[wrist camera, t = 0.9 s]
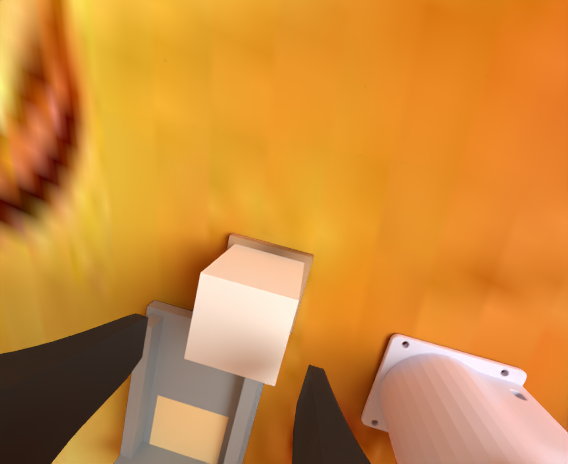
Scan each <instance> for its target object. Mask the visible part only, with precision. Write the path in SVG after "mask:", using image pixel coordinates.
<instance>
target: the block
mask: <svg viewBox="0 0 568 464" xmlns="http://www.w3.org/2000/svg"><path fill="white" fill-rule="evenodd" d="M303 269H304V263H303V262H300V261H296V260H293V259H289V258H285V257H282V256H278V255H274V254H271V253H267V252H263V251H260V250H256V249H253V248H249V247H245V246H242V245H238V244H234V245H233V246H232V247H231V248H229V249H228V250H227V251H226V252H225V253H223V254H222V255H221V256H220V257H219V258H217V259H216V260H215V261H214V262H213V263H212V264H210V265H209V266H208V267H207V268H206V269H204V270H203V271H202V272H201V274H200V279H199V284H198V289H197V294H196V299H195V305H194V310H193V315H192V320H191V325H190V331H189V336H188V341H187V346H186V351H185V356H184V359H187V360H190V361H193V362H196V363H200V364H203V365H206V366H210V367H213V368H216V369H219V370H223V371H226V372H229V373H233V374H236V375H239V376H242V377H246V378H249V379H252V380H256V381H259V382H262V383H265V384H269V385H272V386H275V383H276V380H277V376H278V373H279V369H280V366H281V362H282V359H283V355H284V352H285V348H286V345H287V341H288V338H289V334H290V331H291V327H292V324H293V320H294V316H295V313H296V309H297V306H298V302H299V297H300V290H301V283H302V276H303Z"/></svg>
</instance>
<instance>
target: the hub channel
mask: <svg viewBox="0 0 568 464" xmlns="http://www.w3.org/2000/svg"><path fill="white" fill-rule="evenodd" d="M192 315H193V311H190V310H186V309H183V308H180V307H176V306H173V305H169V304H166V303H163V302H159V301H156V300H154V301H153V302H152V303H150V304H149V305H148V306H147V311H146V317H148V324H147V330H146V337H145V343H144V350H143V356H142V359H141V360H140V361H139V363H138V364H137V366H136V367H135V368H134V370H133V371H132V376H131V382H130V389H129V396H128V403H127V410H126V416H125V423H124V430H123V437H122V443H121V450H120V455H119V457H118V458H117V460H116V461H115V462H114V464H242V462H243V459H244V455H245V451H246V448H247V444H248V440H249V437H250V433H251V429H252V426H253V422H254V418H255V415H256V411H257V407H258V404H259V400H260V396H261V393H262V389H263V385H264V383H262V382H259V381H256V380H252V379H249V378H246V377H242V376H239V375H236V374H233V373H229V372H226V371H223V370H219V369H216V368H213V367H210V366H206V365H203V364H200V363H196V362H193V361H190V360H187V359H184V356H185V351H186V346H187V341H188V336H189V331H190V325H191V320H192Z"/></svg>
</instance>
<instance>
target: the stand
mask: <svg viewBox="0 0 568 464" xmlns="http://www.w3.org/2000/svg"><path fill="white" fill-rule="evenodd" d="M234 244H238V245H242V246H245V247H249V248H253V249H256V250H260V251H263V252H267V253H271V254H274V255H278V256H282V257H285V258H289V259H293V260H296V261H300V262H303V263H304V269H303V276H302V283H301V290H300V297H299V302H298V306H297V309H296V313H295V316H294V320H293V324H292V327H291V331H290V334H292V331H293V328H294V324H295V320H296V317H297V313H298V310H299V306H300V303H301V299H302V296H303V292H304V289H305V285H306V282H307V278H308V275H309V271H310V268H311V264H312V261H313V254H309V253H305V252H302V251H298V250H294V249H291V248H287V247H283V246H280V245H276V244H272V243H269V242H265V241H261V240H258V239H254V238H250V237H247V236H243V235H239V234H236V233H232V234H231V235H230V236H229V241H228V246H227V250H228V249H229V248H231V247H232V246H233V245H234ZM227 250H226V251H227Z"/></svg>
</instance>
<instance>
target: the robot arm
mask: <svg viewBox="0 0 568 464" xmlns="http://www.w3.org/2000/svg"><path fill="white" fill-rule="evenodd" d="M147 324H148V317H146V316H142V315H139V314H132V315H129V316H126V317H123V318H120V319H118V320H115V321H112V322H109V323H107V324H104V325H101V326H98V327H95V328H93V329H90V330H87V331H84V332H81V333H78V334H75V335H72V336H69V337H66V338H62V339H59V340H56V341H53V342H49V343H46V344H42V345H38V346H34V347H30V348H26V349H22V350H18V351H14V352H8V353H3V354H0V464H51V463H52V462H53V460H54V459H55V458H56V457H57V455H58V454H59V453H60V452H61V450H62V449H63V448H64V447H65V445H66V444H67V443H68V442H69V440H70V439H71V438H72V437H73V436H74V435H75V434H76V432H77V431H78V430H79V429H80V428H81V427H82V426H83V425H84V424H85V423H86V422H87V420H88V419H89V418H90V417H91V416H92V415H93V414H94V413H95V412H96V411H97V410H98V409H99V408H100V407H101V406H102V405H103V404H104V402H105V401H106V400H107V399H108V398H109V397H110V396H111V395H112V394H113V393H114V392H115V391H116V390H117V389H118V388H119V386H120V385H121V384H122V383H123V382H124V381H125V380H126V379H127V378H128V376H129V375H130V374H131V372H132V371H133V370H134V368H135V367H136V366H137V364H138V363H139V361H140V360H141V359H142V356H143V350H144V343H145V337H146V330H147ZM404 341H407V342H408V343H407V344H405V345H402V343H403V342H404ZM502 370H505V371H504V372H502V373H501V371H502ZM526 377H527V376H526V373H525V372H524V371H523V370H522V369H520V368H517V367H514V366H510V365H507V364H503V363H500V362H496V361H493V360H489V359H486V358H482V357H479V356H475V355H472V354H468V353H465V352H461V351H458V350H454V349H450V348H447V347H443V346H440V345H436V344H433V343H429V342H426V341H422V340H419V339H415V338H412V337H408V336H405V335H401V334H394V335H392V336H391V338H390V341H389V343H388V346H387V349H386V351H385V354H384V357H383V359H382V362H381V365H380V367H379V370H378V373H377V375H376V378H375V381H374V383H373V386H372V389H371V391H370V394H369V397H368V399H367V402H366V405H365V407H364V410H363V413H362V415H361V419H362V423H363V424H364V425H366V426H369V427H372V428H376V429H379V430H382V431H385V432H388V433H389V437H390V441H391V444H392V448H393V451H394V455H395V459H396V462H397V464H568V433H567V432H566V430H565V429H564V428H563V427H562V426H561V425H560V424H559V423H558V422H557V421H556V420H555V419H554V418H553V417H552V416H551V415H550V414H549V413H548V412H547V411H546V410H545V409H544V408H543V407H542V406H541V405H540V404H539V403H538V402H537V401H536V400H535V399H534V398H533V397H532V396H531V395H530V394H529V393H528V391H527V390H526V389H525V388H524V387H523V384H524V382H525V380H526ZM373 420H377V421H375V422H374V421H373ZM292 464H371V463H370V462H369V460H368V459H367V457H366V455H365V454H364V452H363V451H362V449H361V447H360V446H359V444H358V442H357V441H356V439H355V437H354V435H353V433H352V432H351V430H350V428H349V426H348V424H347V422H346V420H345V418H344V416H343V414H342V412H341V410H340V407H339V405H338V403H337V401H336V399H335V396H334V394H333V392H332V389H331V387H330V384H329V382H328V379H327V376H326V374H325V371H324V369H322V368H318V367H315V366H311V365H309V367H308V370H307V373H306V376H305V380H304V383H303V386H302V389H301V393H300V396H299V399H298V402H297V407H296V414H295V421H294V429H293V456H292Z"/></svg>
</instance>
